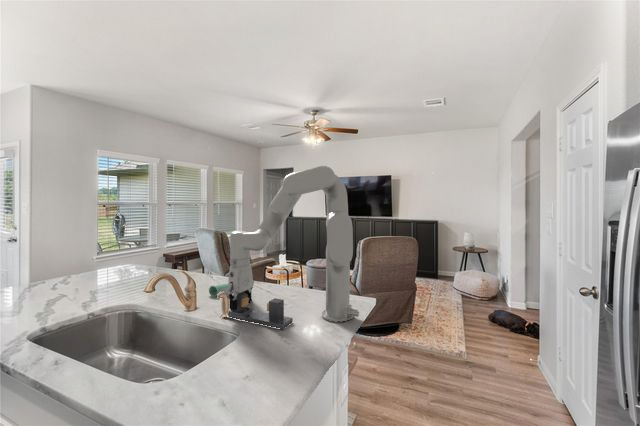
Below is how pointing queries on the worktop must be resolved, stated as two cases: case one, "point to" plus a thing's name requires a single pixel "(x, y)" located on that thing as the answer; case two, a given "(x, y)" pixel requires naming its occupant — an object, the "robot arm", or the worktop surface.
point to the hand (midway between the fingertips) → (240, 305)
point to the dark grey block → (241, 302)
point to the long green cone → (217, 289)
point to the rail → (265, 315)
